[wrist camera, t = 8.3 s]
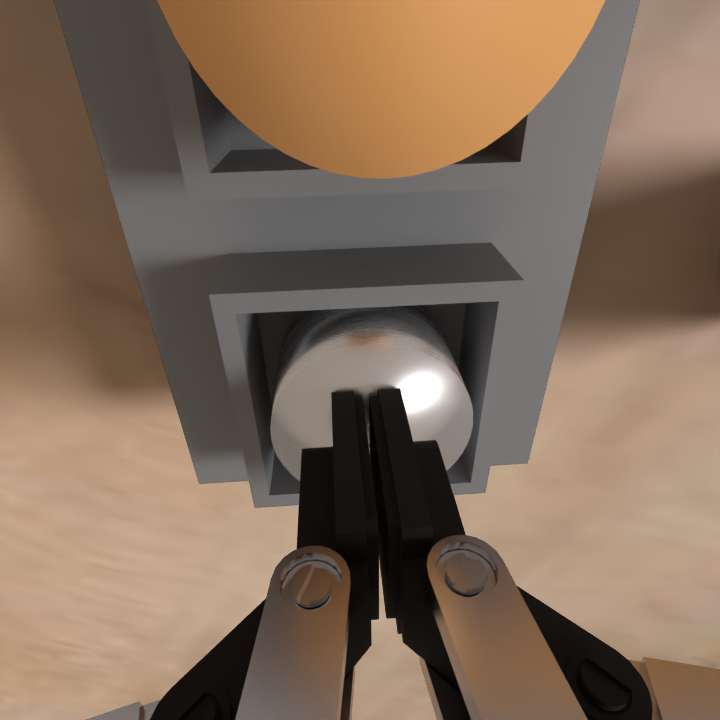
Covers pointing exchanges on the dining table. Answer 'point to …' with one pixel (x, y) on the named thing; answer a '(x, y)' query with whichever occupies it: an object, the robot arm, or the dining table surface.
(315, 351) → the knob
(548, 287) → the control box
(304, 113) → the knob middle
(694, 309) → the dining table surface
